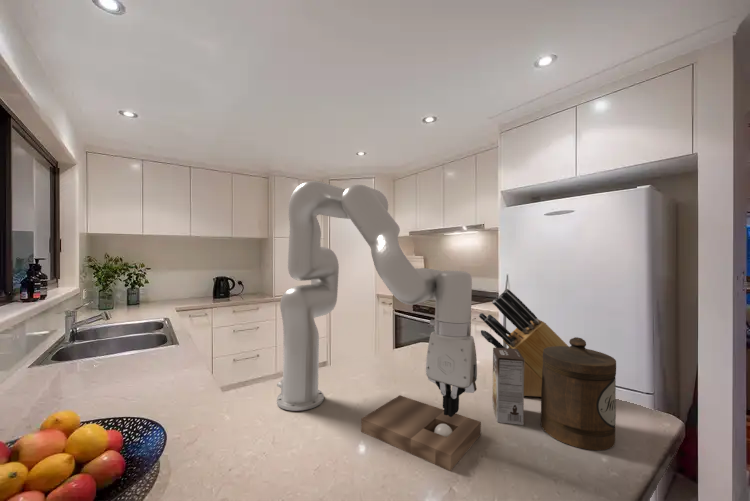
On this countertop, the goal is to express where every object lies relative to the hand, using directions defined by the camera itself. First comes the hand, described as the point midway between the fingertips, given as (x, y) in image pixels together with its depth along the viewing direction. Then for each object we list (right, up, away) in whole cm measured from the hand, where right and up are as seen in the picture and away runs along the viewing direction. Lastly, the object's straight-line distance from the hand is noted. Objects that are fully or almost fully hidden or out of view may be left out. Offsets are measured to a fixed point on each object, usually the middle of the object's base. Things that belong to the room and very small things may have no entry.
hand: (450, 413), depth 72 cm
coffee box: (+18, -7, +14) cm, 23 cm away
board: (-6, -7, +4) cm, 10 cm away
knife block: (+34, -8, +29) cm, 45 cm away
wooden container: (+31, -8, +6) cm, 32 cm away
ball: (-1, -5, +1) cm, 5 cm away
